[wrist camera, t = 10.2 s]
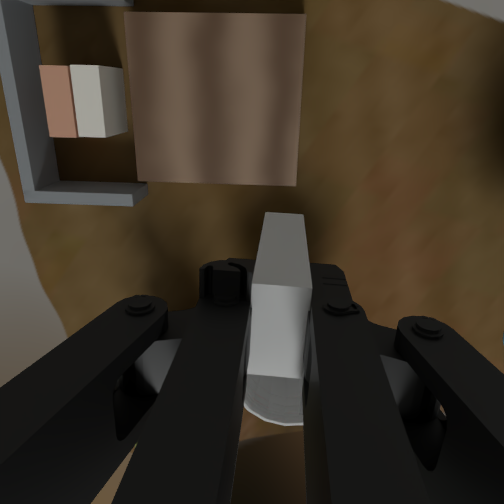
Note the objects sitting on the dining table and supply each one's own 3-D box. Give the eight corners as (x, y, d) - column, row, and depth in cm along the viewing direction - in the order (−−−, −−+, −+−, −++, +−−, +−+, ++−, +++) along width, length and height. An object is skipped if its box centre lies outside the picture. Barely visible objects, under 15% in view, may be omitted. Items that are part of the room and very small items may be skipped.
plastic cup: (228, 338, 51) (214, 406, 40) (265, 267, 48) (261, 322, 36) (305, 371, 53) (312, 446, 41) (347, 305, 49) (368, 368, 38)
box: (132, -9, 38) (112, -23, 33) (148, 194, 45) (133, 206, 40) (17, -10, 38) (-18, -24, 34) (50, 190, 46) (25, 202, 41)
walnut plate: (304, 19, 38) (306, 13, 35) (294, 180, 44) (295, 186, 41) (134, 17, 39) (123, 11, 36) (146, 175, 44) (137, 181, 42)
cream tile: (98, 65, 35) (69, 64, 35) (105, 137, 37) (78, 136, 37) (122, 68, 41) (98, 67, 41) (128, 131, 43) (104, 130, 43)
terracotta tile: (67, 65, 35) (38, 65, 35) (76, 137, 37) (49, 136, 37) (95, 69, 41) (71, 68, 41) (102, 131, 43) (79, 130, 43)
